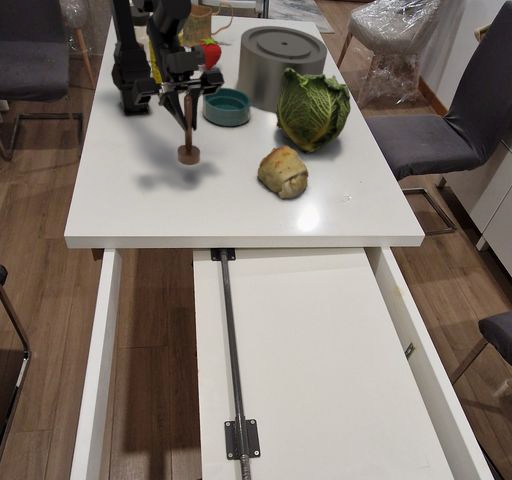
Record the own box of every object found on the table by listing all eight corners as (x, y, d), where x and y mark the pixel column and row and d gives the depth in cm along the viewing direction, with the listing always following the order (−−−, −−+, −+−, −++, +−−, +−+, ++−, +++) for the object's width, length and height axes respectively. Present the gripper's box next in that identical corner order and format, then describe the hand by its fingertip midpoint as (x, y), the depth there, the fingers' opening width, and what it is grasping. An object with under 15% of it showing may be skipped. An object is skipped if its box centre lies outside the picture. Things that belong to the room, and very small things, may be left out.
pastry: (259, 162, 108) (263, 131, 101) (307, 170, 108) (314, 140, 102) (253, 195, 100) (257, 163, 93) (305, 203, 100) (313, 173, 94)
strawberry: (220, 75, 133) (222, 38, 125) (196, 72, 133) (196, 35, 125) (221, 67, 137) (222, 31, 129) (198, 64, 136) (198, 27, 128)
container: (245, 113, 122) (250, 61, 111) (231, 73, 135) (233, 23, 124) (326, 114, 127) (338, 64, 116) (304, 75, 140) (313, 28, 130)
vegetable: (318, 158, 125) (342, 82, 117) (345, 166, 109) (376, 78, 100) (256, 138, 118) (277, 56, 110) (275, 144, 102) (301, 47, 94)
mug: (230, 53, 144) (232, 10, 134) (178, 46, 142) (177, 2, 133) (231, 40, 150) (234, -2, 141) (182, 33, 149) (181, -10, 139)
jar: (132, 64, 131) (127, 17, 121) (121, 53, 135) (115, 6, 125) (159, 60, 135) (155, 14, 125) (147, 49, 138) (144, 4, 128)
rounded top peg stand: (181, 166, 93) (179, 102, 82) (174, 154, 96) (171, 90, 84) (203, 163, 95) (203, 100, 84) (195, 151, 97) (195, 88, 86)
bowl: (212, 130, 114) (212, 113, 111) (196, 106, 121) (196, 89, 117) (256, 125, 118) (258, 108, 115) (238, 102, 125) (240, 86, 121)
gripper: (128, 30, 74) (157, 124, 78) (223, 23, 81) (245, 110, 85) (120, 60, 84) (145, 143, 88) (204, 52, 91) (225, 129, 95)
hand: (191, 131), depth 89 cm, fingers closed on rounded top peg stand
